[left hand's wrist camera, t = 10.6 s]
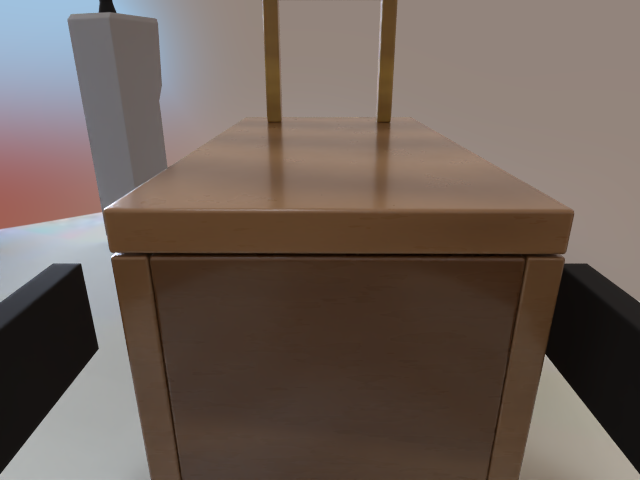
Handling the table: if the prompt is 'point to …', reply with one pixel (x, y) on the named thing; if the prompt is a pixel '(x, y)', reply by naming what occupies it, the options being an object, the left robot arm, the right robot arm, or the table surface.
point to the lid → (335, 186)
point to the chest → (336, 362)
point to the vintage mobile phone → (120, 97)
